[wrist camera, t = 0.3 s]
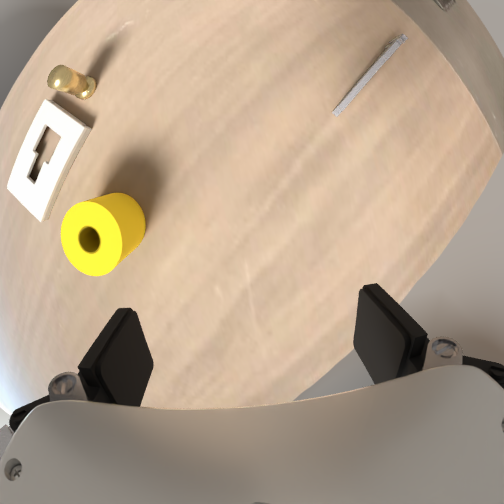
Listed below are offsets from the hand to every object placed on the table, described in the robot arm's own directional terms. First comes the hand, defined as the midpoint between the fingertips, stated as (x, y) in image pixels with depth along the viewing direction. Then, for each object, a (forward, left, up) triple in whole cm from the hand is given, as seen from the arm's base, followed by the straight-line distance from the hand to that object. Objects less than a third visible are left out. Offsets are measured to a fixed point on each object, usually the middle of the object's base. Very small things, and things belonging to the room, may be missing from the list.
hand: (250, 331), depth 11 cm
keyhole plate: (+13, -33, -31) cm, 47 cm away
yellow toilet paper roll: (+14, -14, -31) cm, 37 cm away
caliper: (-30, +2, -31) cm, 43 cm away
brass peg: (-1, -33, -31) cm, 45 cm away
